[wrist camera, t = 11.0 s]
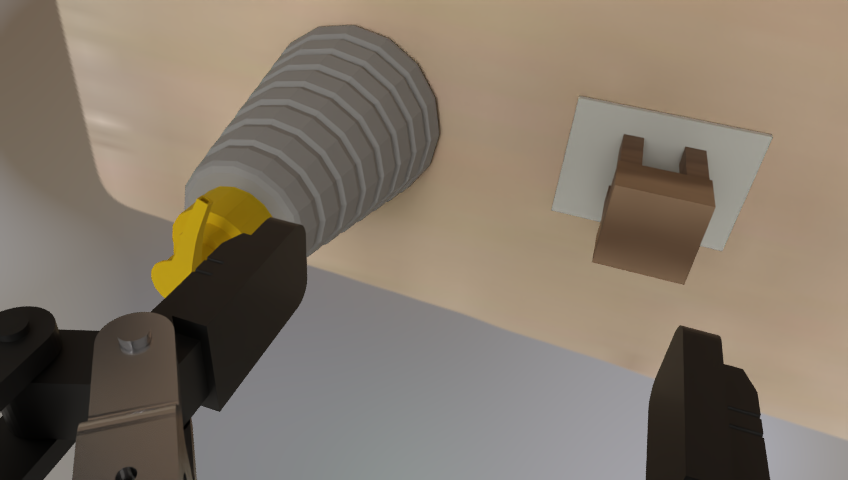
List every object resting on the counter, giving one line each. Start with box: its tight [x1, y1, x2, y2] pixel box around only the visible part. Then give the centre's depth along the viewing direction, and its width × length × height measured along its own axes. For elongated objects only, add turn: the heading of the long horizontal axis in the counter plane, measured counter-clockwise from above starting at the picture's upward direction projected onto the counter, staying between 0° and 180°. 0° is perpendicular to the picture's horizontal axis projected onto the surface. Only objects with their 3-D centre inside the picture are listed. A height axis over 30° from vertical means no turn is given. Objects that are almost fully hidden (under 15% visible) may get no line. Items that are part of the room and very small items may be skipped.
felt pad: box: [552, 96, 773, 251], centre depth 40 cm, size 8×11×1 cm
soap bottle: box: [151, 25, 439, 298], centre depth 36 cm, size 12×12×20 cm
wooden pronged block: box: [592, 134, 716, 285], centre depth 37 cm, size 5×5×7 cm
